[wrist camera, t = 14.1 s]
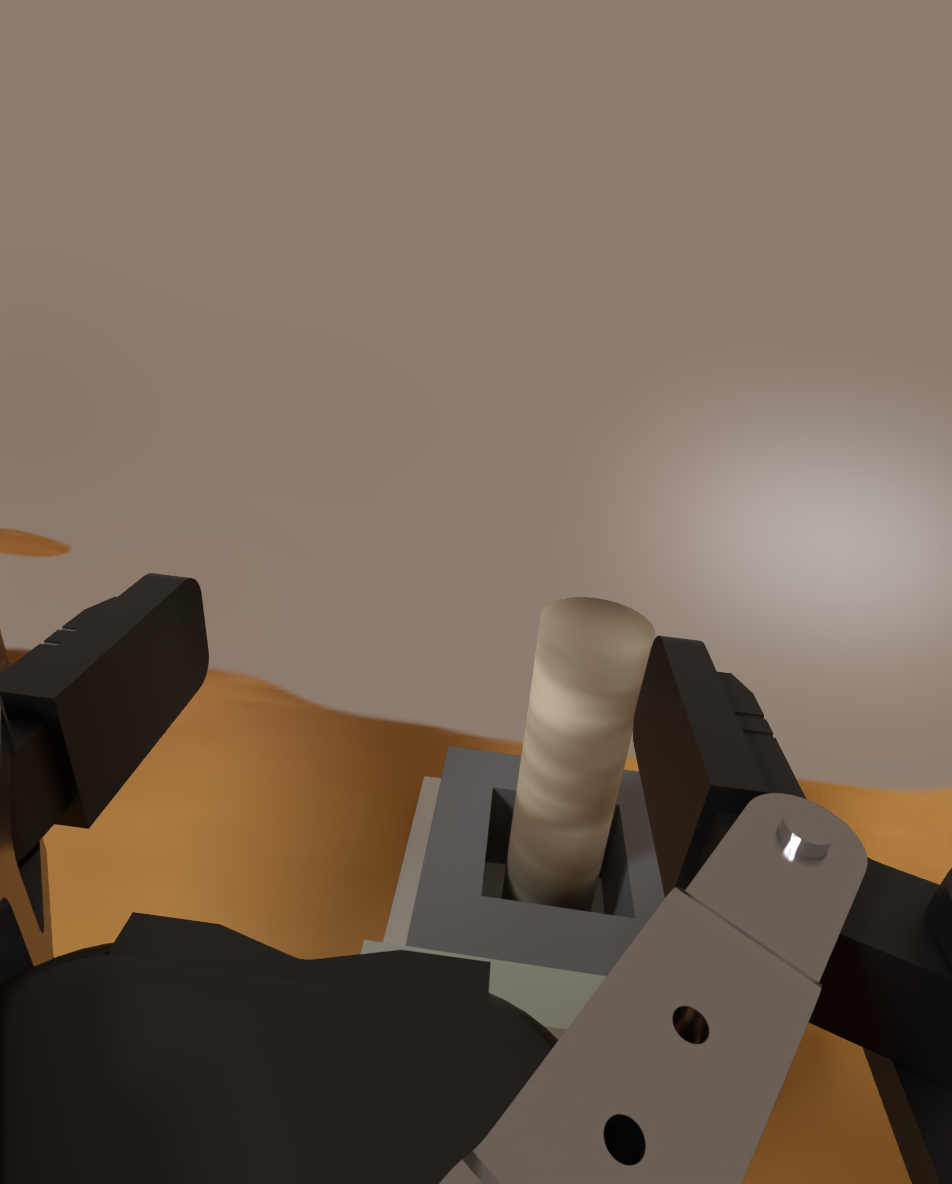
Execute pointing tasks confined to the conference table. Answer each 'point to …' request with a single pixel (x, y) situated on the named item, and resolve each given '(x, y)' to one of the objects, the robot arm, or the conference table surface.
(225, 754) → the conference table surface
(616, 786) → the dowel
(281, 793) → the conference table surface
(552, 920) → the dowel dock
